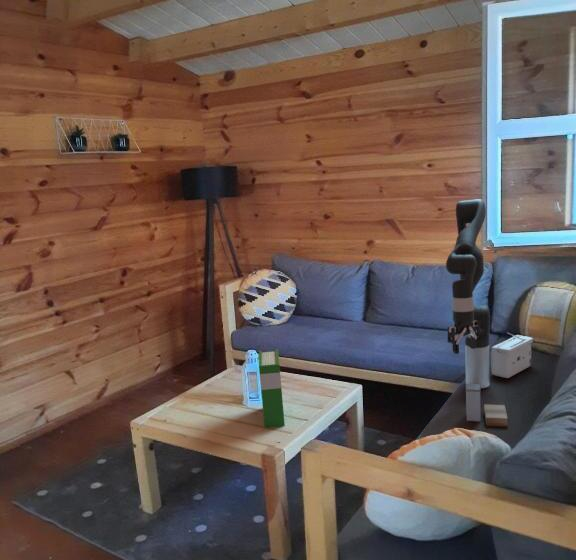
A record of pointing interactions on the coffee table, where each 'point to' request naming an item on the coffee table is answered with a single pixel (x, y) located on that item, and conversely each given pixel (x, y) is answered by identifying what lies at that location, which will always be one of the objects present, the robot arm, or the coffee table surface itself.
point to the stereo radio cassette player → (511, 356)
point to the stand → (495, 415)
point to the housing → (473, 402)
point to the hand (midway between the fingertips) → (464, 350)
